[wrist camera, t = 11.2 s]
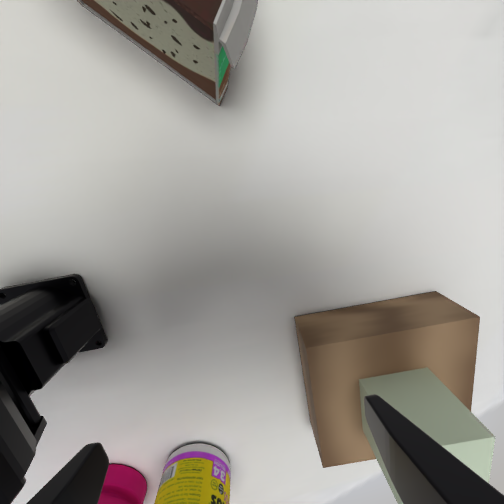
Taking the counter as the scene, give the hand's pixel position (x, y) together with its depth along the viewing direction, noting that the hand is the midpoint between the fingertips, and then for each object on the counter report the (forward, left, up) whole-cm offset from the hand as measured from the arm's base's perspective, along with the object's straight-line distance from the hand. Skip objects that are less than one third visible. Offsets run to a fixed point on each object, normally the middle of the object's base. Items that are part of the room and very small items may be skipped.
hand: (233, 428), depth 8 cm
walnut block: (+10, -10, -12) cm, 19 cm away
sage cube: (+10, -10, -8) cm, 16 cm away
